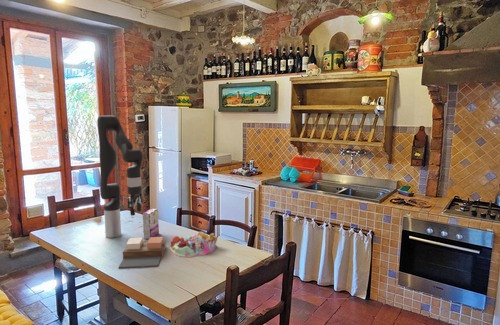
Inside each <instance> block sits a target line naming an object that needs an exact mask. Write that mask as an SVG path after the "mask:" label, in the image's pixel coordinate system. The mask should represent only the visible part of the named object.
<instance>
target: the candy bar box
mask: <svg viewBox="0 0 500 325" xmlns="http://www.w3.org/2000/svg"><path fill="white" fill-rule="evenodd" d="M142 225H143V227H142V228H143V240H149V238H150V237H157V235H159V234H160V231H159V229H160V227H159V226H160V224H159V210H158V208H150V209H148V210H147V211H145V212H143V213H142Z"/></svg>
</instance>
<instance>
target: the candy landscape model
mask: <svg viewBox="0 0 500 325" xmlns="http://www.w3.org/2000/svg"><path fill="white" fill-rule="evenodd" d="M218 238H219V236H215V233H214V232H211V233H209V234H206V233H205V232H203V231H198V233H197V234H195V233H194V234H192V235H191V236H190V235H189V236H187V237H186V239H185V238H184V237H180V236H178V235H175V236H173V237H172V240H171V241H170V252H171V253H172V254H174V255H175V256H177V257H179V258H181V257H183V258H193V257H196V256H203V255H205V256H206V255H208V254H210V253H213V252H214V251H216V249H217V248H218V246H217V241H218Z"/></svg>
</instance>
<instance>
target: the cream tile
mask: <svg viewBox="0 0 500 325" xmlns="http://www.w3.org/2000/svg"><path fill="white" fill-rule="evenodd" d="M143 241H144V237H130V238H128V240H127V241H126V243H125V248H126V249H140V247H141V245H142V244H143Z"/></svg>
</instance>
